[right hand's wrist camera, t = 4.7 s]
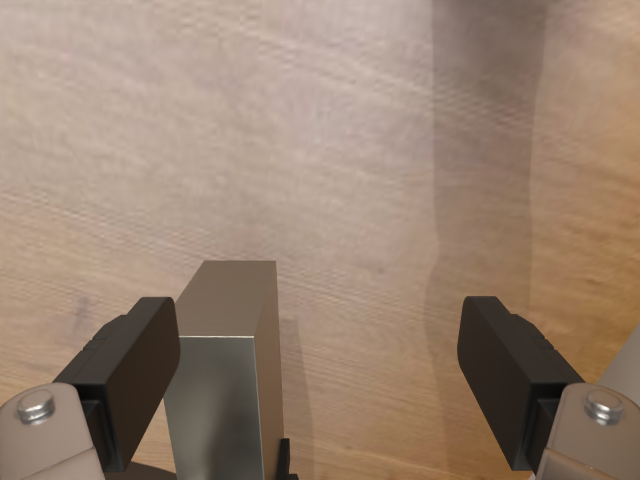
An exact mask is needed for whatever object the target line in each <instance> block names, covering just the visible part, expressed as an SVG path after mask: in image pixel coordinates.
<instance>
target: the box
mask: <svg viewBox="0 0 640 480" xmlns="http://www.w3.org/2000/svg"><path fill="white" fill-rule="evenodd" d="M175 310H176V317H177V324H178V332H179V339H180V347H181V353H180V361H179V365H178V368H177V370H176V372H175V374H174V376H173V378H172V380H171V382H170V384H169V386H168V388H167V390H166V392H165V394H164V396H163V399H164V405H165V411H166V416H167V422H168V428H169V434H170V439H171V445H172V451H173V456H174V462H175V468H176V473H177V479H178V480H277V472H278V464H279V456H280V448H281V440H282V438H284V427H283V405H282V383H281V361H280V338H279V316H278V294H277V272H276V261H204V262H203V263H202V265H201V266H200V268H199V269H198V271H197V272H196V274H195V275H194V276H193V278H192V279H191V281H190V282H189V284H188V285H187V287H186V288H185V290H184V291H183V293H182V294H181V295H180V297H179V298H178V300H177V301H176V303H175Z"/></svg>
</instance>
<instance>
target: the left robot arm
mask: <svg viewBox="0 0 640 480" xmlns="http://www.w3.org/2000/svg"><path fill="white" fill-rule="evenodd" d="M289 465H290V445H289V438H282V440H281V448H280V456H279V464H278V472H277V480H299V479H298V476H297V474H289Z"/></svg>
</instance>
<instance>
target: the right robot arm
mask: <svg viewBox="0 0 640 480" xmlns="http://www.w3.org/2000/svg"><path fill="white" fill-rule="evenodd" d="M180 353H181V347H180V339H179V332H178V324H177V317H176V310H175V304H174V301H173V299H172V298H171V297H142V298H141V299H140V300H139V301H138V302H137V303H136V304H135V305H134V307H133V308H132V309H131V310H130V311H129V312H128V314H127V315H120V316H118V317H117V318H115V319H114V320H112V321H110V322H109V323H107V324H105V325H104V326H103V327H102V328H101V329H100V330H99V331H98V332H97V333H96V335H95V336H94V337H93V339H92V340H90V341H89V342H88V343H87V344H86V345H85V347H84V348H83V351H80V352H79V353H78V354H77V355H76V356H75V358H74V359H73V360H72V361H71V362H70V363H69V364H68V365H67V366H66V367H65V369H64V370H63V371H62V372H61V373H60V374H59V375H58V376H57V377H56V378H55V380H54V381H53V382H52V383H48V384H43V385H39V386H36V387H33V388H30V389H28V390H25V391H23V392H21V393H19V394H17V395H16V396H14V397H12V398H11V399H9V400H8V401H7V402H6V403H4V404H3V405H2V406H1V407H0V480H105V478H104V475H103V473H104V472H125V471H126V469H127V467H128V465H129V463H130V461H131V459H132V457H133V455H134V453H135V451H136V449H137V447H138V445H139V443H140V441H141V439H142V437H143V435H144V433H145V431H146V429H147V427H148V426H149V424H150V422H151V420H152V418H153V416H154V414H155V412H156V410H157V408H158V406H159V404H160V402H161V400H162V398H163V396H164V394H165V392H166V390H167V388H168V386H169V384H170V382H171V380H172V378H173V376H174V374H175V372H176V370H177V368H178V365H179V361H180ZM457 354H458V361H459V365H460V368H461V370H462V372H463V374H464V376H465V378H466V380H467V382H468V384H469V386H470V388H471V390H472V392H473V394H474V396H475V398H476V400H477V402H478V404H479V406H480V408H481V410H482V412H483V414H484V416H485V418H486V420H487V422H488V424H489V426H490V428H491V430H492V432H493V434H494V436H495V438H496V440H497V442H498V444H499V446H500V448H501V450H502V452H503V454H504V456H505V458H506V460H507V462H508V464H509V466H510V468H511V470H512V471H533V472H534V474H535V476H536V478H535V480H640V407H639V406H638V405H637V404H636V403H634V402H633V401H632V400H630V399H629V398H628V397H626V396H624V395H623V394H621V393H619V392H617V391H615V390H612V389H610V388H607V387H604V386H601V385H597V384H592V383H586V382H585V381H584V380H583V379H582V378H581V377H580V376H579V374H578V373H577V372H576V371H575V370H574V369H573V368H572V367H571V366H570V364H569V363H568V362H567V361H566V360H565V359H564V358H563V357H562V356H561V354H560V353H559V352H558V351H557V350H554V347H553V346H552V345H551V343H550V342H549V341H548V340H547V339H545V337H544V336H543V335H542V333H541V332H540V331H539V330H538V329H537V328H536V327H535V326H534V325H533V324H532V323H530V322H528V321H527V320H525V319H524V318H522V317H520V316H519V315H517V314H510V312H509V311H508V310H507V309H506V308H505V306H504V305H503V304H502V303H501V302H500V301H499V299H498V298H497V297H495V296H467V297H466V298H465V300H464V302H463V308H462V315H461V323H460V330H459V337H458V345H457Z"/></svg>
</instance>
